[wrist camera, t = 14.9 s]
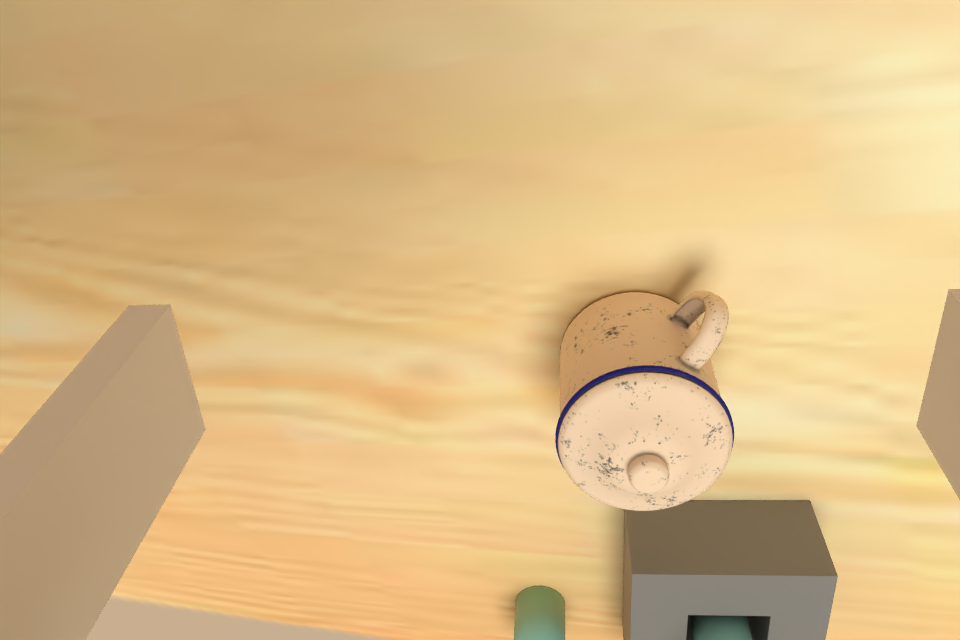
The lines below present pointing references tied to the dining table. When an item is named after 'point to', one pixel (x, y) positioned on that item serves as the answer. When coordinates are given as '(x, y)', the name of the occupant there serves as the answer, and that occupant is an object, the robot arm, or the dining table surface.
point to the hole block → (727, 569)
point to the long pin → (720, 627)
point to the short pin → (539, 614)
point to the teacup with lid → (643, 400)
